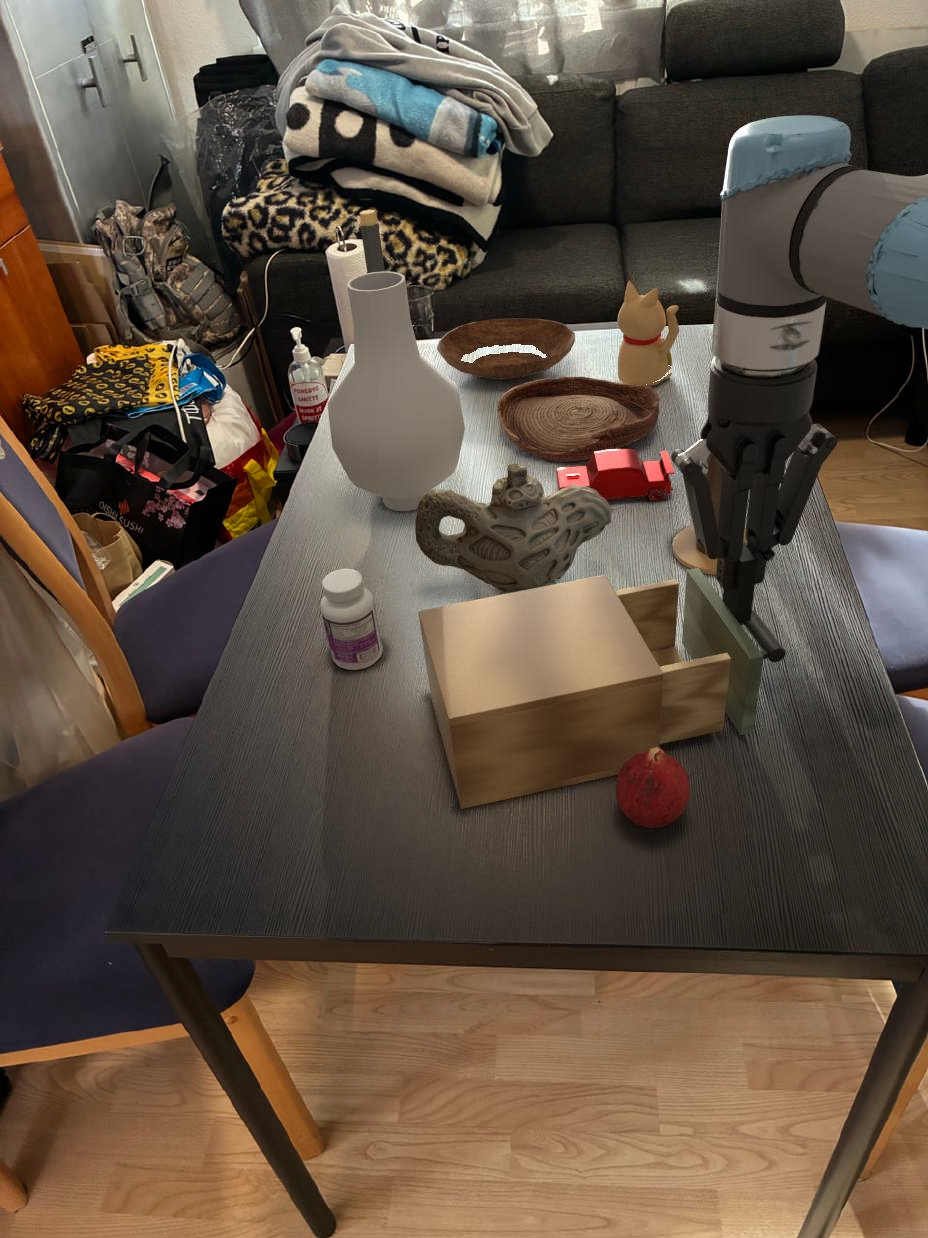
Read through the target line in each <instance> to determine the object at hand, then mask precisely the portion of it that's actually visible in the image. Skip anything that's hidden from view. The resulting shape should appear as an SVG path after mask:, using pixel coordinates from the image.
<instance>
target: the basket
mask: <svg viewBox="0 0 928 1238" xmlns="http://www.w3.org/2000/svg"><path fill="white" fill-rule="evenodd" d="M660 399H661V398H660V396H659V394H658V393H657V392H656V391H655V389H654V388H653V387H652V386H646V385H642V384H641V385H634V384H625V383H622V382H616V381H611V380H606V379H599V378H593V377H588V376H587V377H586V376H561V377H558V378H556V377H555V378H554V377H547V378H539V379H534V380H531V381H528V382H525V383H521V384H518V385H515V386H513V387H512V388H509V390H507V391H505V393H503V394H502V396H501V397H500V398H499V399H498V401H497V407H496V412H497V419H498V422H499V426H500V428H501V430H502V431H503V433H504V435H505V436H506V437H507V438H508V439H509V440H510V441H511V442H512V443H513V444H514V445H515V446H517V447H518V448H519V449H521V450H522V451H523V452H526V453H528V454H530V455H533V456H535V457H538V458H539V459H543V460H550V461H553V462H556V463H569V462H580V461H585V460H590V459H591V457H592V455H593V454H594V452H599V451H604V450H614V449H620V448H622V447H625V446H628V445H630V444H632V443H634V442H637V441H638V440H640V439H642V438H644V437H645V436H646V437H647V436H648V435H649V433H650V432H652V431H653V430H654V428H655V427H656V426H657V423H658V420H659V416H660V402H661V401H660Z"/></svg>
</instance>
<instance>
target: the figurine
mask: <svg viewBox="0 0 928 1238" xmlns="http://www.w3.org/2000/svg"><path fill="white" fill-rule="evenodd" d="M679 309H680V307H679V305H675V304H674V305H670V306H669V307H668V308H667V309H666V313H665V310H664V307H663V305H662V302H661V301H660V300H659V288H658V287H655V288H653V289H651V290H649V292H647V293H646V294H645V295H643V294H640V295H639V293H638V291H637V289H636V287H635V286H634V284H633V282H632V281H631V280H630V279H629V280H628V281H627V284H626V287H625V293H624V301H623V303H622V305H621V306H620V309H619V312H618V315H617V326H618V329H619V330H620V332H621V333H622V341H621V343H620V346H619V350H618V356H617V378H618V380H619V381H620V383H625V384H634V385H641V384H642V385H646V384H647V385H646V386H649V387H652V386H656V385H658V384H660V383H661V382H662V381H664V380H667V379H669V378H670V377H671V376H672V374H673V372H672V373H670V374H668V375H667V376H666V377H664V378H663V379H661V378H662V377H663V376H665V374H666V373H667V372H668V371H669V370H670V369H672V368H671V367H670V366H672V367H673V358H672V353H671V349H672V348H673V346H674V344H675V341H676V339H677V337H678V335H679V332H680V327H679V326H680V325H679V324H678V323H679V322H678V320H677V317H676V313H677V312H678V311H679ZM666 325H667V328H668V332H667V335H666V336H665V338H664V337H662V332H663V331H664V330H665V328H666ZM668 365H670V366H668ZM659 379H661V380H660V381H657V380H659ZM655 381H657V382H655ZM653 382H654V383H653Z"/></svg>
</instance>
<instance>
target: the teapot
mask: <svg viewBox="0 0 928 1238" xmlns="http://www.w3.org/2000/svg"><path fill="white" fill-rule="evenodd" d="M506 472H507V473H506V474H507V475H506V476H504V477H501V478H498V479H496V481H495V482H494V483H493V485H492V490H491V499H490V501H489V502H487V503H486V502H481V501H476V500H474V499H472V498H469V497H468V496H466V495H463V494H459V493H457V492H455V491H454V490H453V489H443V488H442V489H441V488H439V489H432V490H431V491H430V492H428V493H427V494H426V495H425V496H424V497H423V498H422V499H421V500H420V502H419V505H418V508H417V509H416V513H415V519H414V530H415V531H414V532H415V533H414V534H415V542H416V544H417V546H418V548H419V550H420V551H421V552H422V554H423V555H424V556H425V557H426V558H428V560H430V561H431V562H432V563H434V564H436V565H439V566H444V567H453V568H456V569H459V570H463V571H464V572H467V573H468V574H470V575H471V576H473V577H475V578H476V579H478V580H480V581H481V582H483V583H485V584H487V585H489V586H492V587H493V588H495V589H496V590H497V591H501V592H505V593H513V592H518V591H523V590H529V589H534V588H539V587H544V586H549V585H554V584H555V581H556V580H561V579H562V578H563V577H564V576H565V575H566V573H567V572H568V571H569V570H570V568H571V567H572V565H573V563H574V560H575V557H576V554H577V551H578V549H579V548H580V547H581V546H582V544H584V543H586V542H589V541H591V540H592V539H594V538H596V537H598V536H599V535H601V533H602V532H603V531H604V530H605V528H606V527H607V526H608V525H609V524H611V523H612V511H613V508H612V506H611V505H610V503H609V502H608V499H605V498H603V497H601V496H600V495H599V493H598V492H597V491H596V490H594V489H591V488H589V487H587V486H578V485H576V484H573V485H571V486H569V487H566V488H562V489H561V490H559V491H558V490H557V491H556V492H553V493H552V494H549V495H545V490H544V488H543V487H544V486H543V484H542V483H541V482H540V481H539V479H538V478H536V477H534V476H532V475H530V474H528V467H527V466H526V465H520V464H519V463H511V464H507V468H506ZM447 517H450V518H454V519H457V520H460V521H462V522H463V524H464V526H463V529H462V531H461V532H459V533H453V534H445V533H443V532H441V531H440V525H441V522H442V520H443V519H444V518H447Z"/></svg>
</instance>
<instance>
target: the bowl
mask: <svg viewBox="0 0 928 1238" xmlns="http://www.w3.org/2000/svg"><path fill="white" fill-rule="evenodd" d="M575 342H576V333H575V332H574V331H573V330H572V328H570V327H569V326H568V324H565V323H561V322H557V321H554V320H549V319H542V318H518V317H517V318H515V317H514V318H494V319H488V320H480V321H473V322H469V323H466V324H462V325H459V326H457V327H455V328H454V329H453V328H452V330H450V331H448V332H446V333H445V334H444V335H443V336H441V338H440V339H439V340H438V343H437V346H436V350H437V351H438V354H439V355H440V356H441V357H442V358H443V359H444V361H445V362H446V363H447V364H448V365H449V366H451V367H452V368H454V369H455V370H458V371H459V372H460V373H464V374H467V375H472V376H475V377H478V378H485V379H492V380H498V381H499V380H511V379H521V378H524V377H528V376H532V375H535V374H538V373H542V372H545V371H547V370H550V369H551V368H553V367H554V366H555V365H557V364H559V363H560V362H561V361H562V360H563V359H564V358H565V357H566V356H567V355H568V354H569V353H570V351H572V349H573V346H574V345H575ZM512 344H521V345H533V346H535V347H536V350H537V348H538V350H539V351H541V352H542V353H543V354H546V356H547V357H546V358H542V357H541V356H539V355H535V354H532V353H519V352H508V353H500V354H489V355H486V356H482V357H480V358H478V359H476V360H475V361H474V362H473V363H469V362H464V361H461V359H462V357H463V355H465V354H470V353H472V352H474V351H476V350H477V349H478V348H483V347H487V346H488V347H492V346H494V345H499V346H503V345H505V346H506V345H512ZM520 377H521V378H520Z"/></svg>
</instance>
